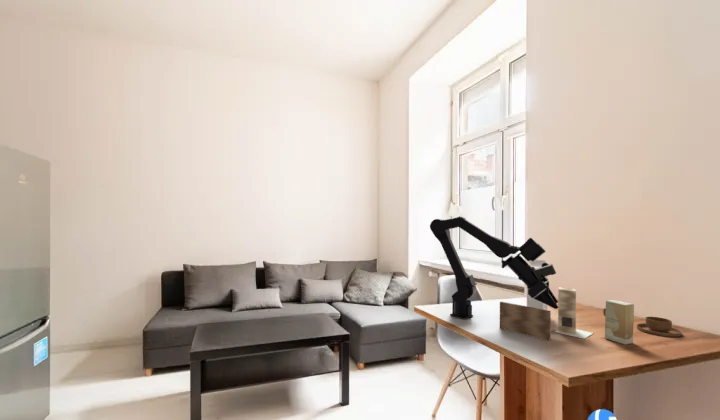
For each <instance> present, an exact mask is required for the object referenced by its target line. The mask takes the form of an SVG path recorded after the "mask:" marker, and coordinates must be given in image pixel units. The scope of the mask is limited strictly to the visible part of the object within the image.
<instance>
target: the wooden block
mask: <svg viewBox="0 0 720 420" xmlns="http://www.w3.org/2000/svg"><path fill="white" fill-rule="evenodd" d="M576 291H577V290H576V288H572V287H571V288H570V287H560V286H559V287H558V292H557V293H558V297H557V301H558V304H557V306H558V308H557V313H558V316H557V317H558V318H557V319H558V320H557V321H558V322H557V323H558V325H557V328H558V329H557V330H558V331H559V332H566V333H573V334H576V329H577V327H576V326H577V325H576V324H577V317H576V316H577V312H576V311H577V292H576Z"/></svg>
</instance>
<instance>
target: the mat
mask: <svg viewBox="0 0 720 420" xmlns="http://www.w3.org/2000/svg"><path fill="white" fill-rule="evenodd" d="M554 333H557V334H560V335H561V334H562V335H565V336H566V335H567V336H571V337H574V338H579V339H583V340H585V339H587V338H589V337H590V336H592V335H594V332H591V331H586V330H581V329H578V328H576V334H573V333H566V332H559V331H558V329H556V330H554Z"/></svg>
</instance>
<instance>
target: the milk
mask: <svg viewBox="0 0 720 420" xmlns="http://www.w3.org/2000/svg"><path fill="white" fill-rule="evenodd" d="M546 261H547V260H543V259H536V260H535V261H531V260H530V261H528V262H529V263H528V264H529V265H530V266H531V267H534V268H535V269H538V268H540V267H542V263H545V262H546ZM546 263H547V262H546ZM548 276H549V275H548ZM548 276H545V277H546V278H547V279H548V281H549V278H548ZM548 281H546V282H545V283H547V282H548ZM526 306H527V307H532V308H537V309H543V310H548V305H546V304H544V303H542V302H540V301H538V300H536V299H534V298H531V297H530V295H529V294H528V288H527V287H526Z"/></svg>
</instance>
